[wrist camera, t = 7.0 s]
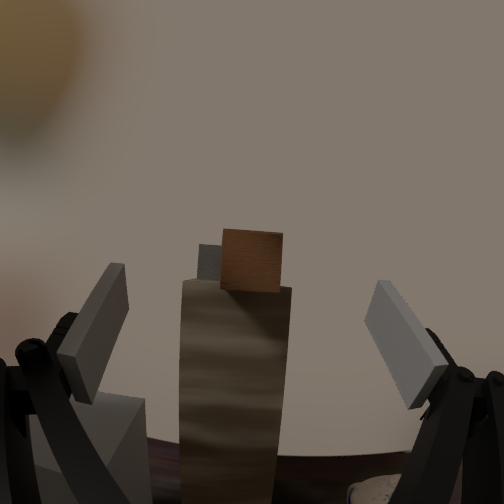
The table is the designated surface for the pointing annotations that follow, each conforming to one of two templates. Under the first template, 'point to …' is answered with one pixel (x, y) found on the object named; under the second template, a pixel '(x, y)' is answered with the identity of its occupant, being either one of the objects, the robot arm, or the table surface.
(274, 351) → the wood grain block
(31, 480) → the robot arm
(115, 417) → the block
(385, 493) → the teacup with lid
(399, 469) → the table surface
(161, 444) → the table surface
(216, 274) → the brown bar
